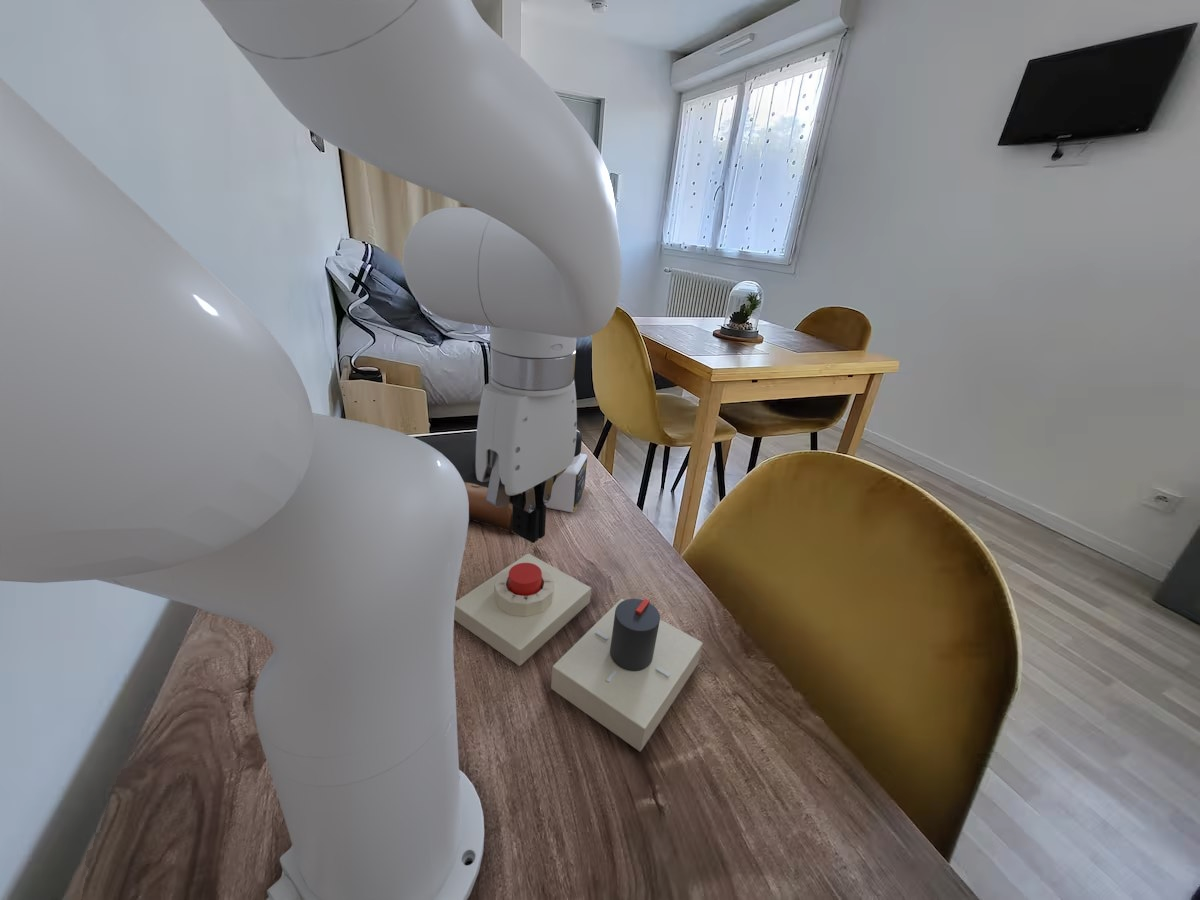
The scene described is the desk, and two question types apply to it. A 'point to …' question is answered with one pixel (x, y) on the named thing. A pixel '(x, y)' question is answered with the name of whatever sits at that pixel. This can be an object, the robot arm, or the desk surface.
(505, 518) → the sunglasses case
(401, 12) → the robot arm
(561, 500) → the medicine bottle
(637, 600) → the timer knob
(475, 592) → the button block
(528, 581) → the power button
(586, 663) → the timer panel
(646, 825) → the desk surface
